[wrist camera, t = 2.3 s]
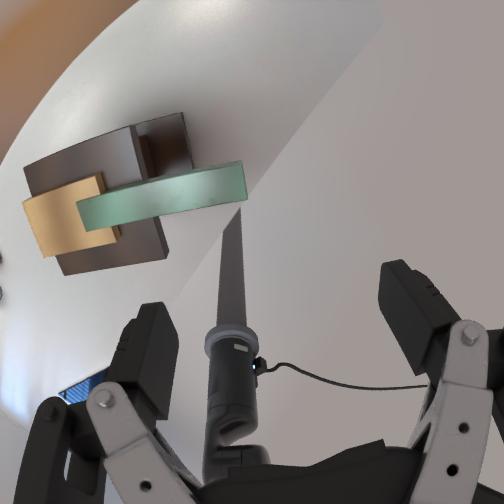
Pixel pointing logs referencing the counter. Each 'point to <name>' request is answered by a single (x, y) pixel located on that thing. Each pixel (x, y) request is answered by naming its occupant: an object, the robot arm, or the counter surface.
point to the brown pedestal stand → (114, 175)
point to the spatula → (124, 204)
